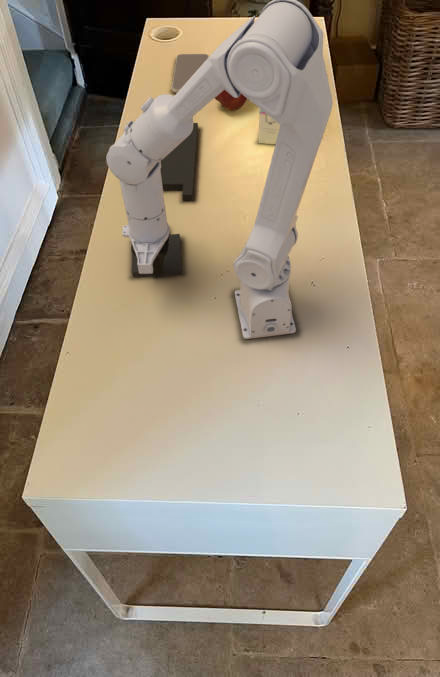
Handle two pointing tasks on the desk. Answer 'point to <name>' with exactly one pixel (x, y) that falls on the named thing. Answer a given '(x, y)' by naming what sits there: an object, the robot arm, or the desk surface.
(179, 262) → the charcoal pad
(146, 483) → the desk surface
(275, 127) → the ink cartridge box
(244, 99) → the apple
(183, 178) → the black pad
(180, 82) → the smartphone
